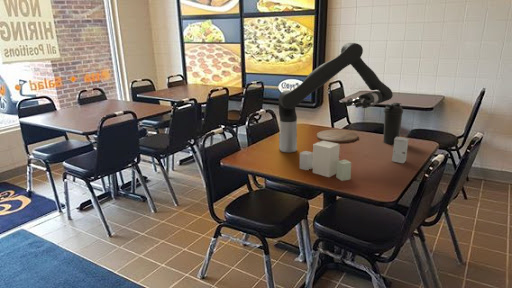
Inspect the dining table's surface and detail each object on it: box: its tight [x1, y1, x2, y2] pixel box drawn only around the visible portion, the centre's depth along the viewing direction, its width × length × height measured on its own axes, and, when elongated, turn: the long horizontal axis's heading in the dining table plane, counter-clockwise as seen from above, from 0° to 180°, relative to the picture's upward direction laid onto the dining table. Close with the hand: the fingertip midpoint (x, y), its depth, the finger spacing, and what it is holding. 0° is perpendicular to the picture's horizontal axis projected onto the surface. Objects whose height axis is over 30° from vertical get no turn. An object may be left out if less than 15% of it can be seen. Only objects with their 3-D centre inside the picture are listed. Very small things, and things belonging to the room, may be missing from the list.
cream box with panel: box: [312, 140, 340, 178], centre depth 171 cm, size 8×9×14 cm
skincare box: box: [391, 136, 410, 164], centre depth 182 cm, size 6×4×12 cm
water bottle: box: [383, 102, 404, 145], centre depth 212 cm, size 10×10×23 cm
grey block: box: [299, 150, 313, 171], centre depth 178 cm, size 4×4×8 cm
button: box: [339, 144, 342, 159], centre depth 172 cm, size 9×6×6 cm, turn 136°
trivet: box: [316, 129, 359, 144], centre depth 228 cm, size 25×25×2 cm
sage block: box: [335, 159, 352, 182], centre depth 164 cm, size 4×4×8 cm
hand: (351, 104), depth 183 cm, fingers open, 4 cm apart
